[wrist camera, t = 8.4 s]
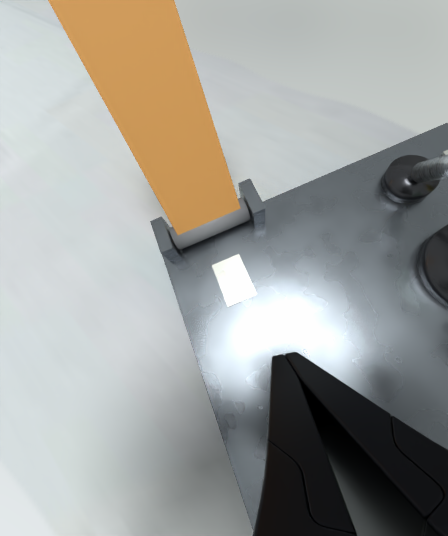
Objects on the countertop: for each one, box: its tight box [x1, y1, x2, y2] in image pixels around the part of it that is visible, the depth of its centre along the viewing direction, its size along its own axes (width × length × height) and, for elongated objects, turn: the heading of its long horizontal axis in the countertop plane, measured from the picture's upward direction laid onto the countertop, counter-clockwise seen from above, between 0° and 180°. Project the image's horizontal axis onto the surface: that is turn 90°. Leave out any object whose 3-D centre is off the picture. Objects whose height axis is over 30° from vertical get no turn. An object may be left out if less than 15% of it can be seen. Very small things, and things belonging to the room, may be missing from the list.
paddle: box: [48, 0, 250, 250], centre depth 14 cm, size 2×5×13 cm
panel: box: [150, 123, 448, 531], centre depth 15 cm, size 21×22×4 cm
